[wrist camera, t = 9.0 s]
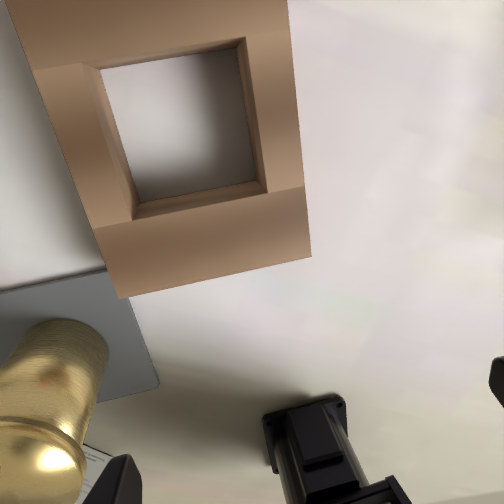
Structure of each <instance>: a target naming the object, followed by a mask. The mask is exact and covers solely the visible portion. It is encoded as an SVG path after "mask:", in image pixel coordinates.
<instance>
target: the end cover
mask: <svg viewBox="0 0 504 504" xmlns="http://www.w3.org/2000/svg"><path fill="white" fill-rule="evenodd" d="M108 361H109V348H108V345H107V343H106V341H105V340H104V338H103V337H102V336H101V335H100V334H99V333H98V332H97V331H96V330H95V329H93V328H92V327H90V326H88V325H86V324H83V323H81V322H77V321H73V320H67V319H54V320H48V321H44V322H41V323H39V324H37V325H35V326H33V327H31V328H30V329H29V330H28V331H27V332H26V333H25V334H24V335H23V337H22V338H21V339H20V341H19V342H18V344H17V345H16V347H15V348H14V350H13V351H12V352H11V354H10V355H9V357H8V358H7V360H6V361H5V362H4V364H3V365H2V367H1V368H0V504H74V503H75V502H76V501H77V499H78V497H79V495H80V492H81V488H82V484H83V481H84V477H85V474H86V470H87V462H86V457H85V454H84V452H83V450H82V449H81V447H82V444H83V441H84V438H85V435H86V431H87V428H88V425H89V422H90V419H91V415H92V412H93V409H94V406H95V403H96V399H97V396H98V393H99V390H100V387H101V383H102V380H103V377H104V374H105V371H106V367H107V364H108Z"/></svg>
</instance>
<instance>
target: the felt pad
mask: <svg viewBox="0 0 504 504" xmlns="http://www.w3.org/2000/svg"><path fill="white" fill-rule="evenodd" d="M54 319H67V320H73V321H77V322H81V323H83V324H86V325H88V326H90V327H92V328H93V329H95V330H96V331H97V332H98V333H99V334H100V335H101V336H102V337H103V338H104V340H105V341H106V343H107V345H108V348H109V361H108V364H107V367H106V371H105V374H104V377H103V380H102V383H101V387H100V390H99V393H98V396H97V399H96V403H99V402H103V401H107V400H111V399H115V398H119V397H123V396H127V395H131V394H135V393H139V392H143V391H148V390H152V389H156V388H159V384H160V383H159V380H158V378H157V375H156V372H155V369H154V367H153V364H152V361H151V359H150V356H149V353H148V350H147V348H146V345H145V342H144V339H143V337H142V334H141V331H140V329H139V326H138V323H137V320H136V318H135V315H134V312H133V309H132V307H131V304H130V301H129V299H128V298H123V299H118V296H117V294H116V291H115V288H114V286H113V283H112V281H111V278H110V275H109V273H108V270H107V269H104V270H99V271H95V272H90V273H85V274H81V275H76V276H71V277H67V278H62V279H57V280H53V281H48V282H43V283H39V284H34V285H29V286H25V287H20V288H15V289H11V290H6V291H1V292H0V368H1V367H2V365H3V364H4V362H5V361H6V360H7V358H8V357H9V355H10V354H11V352H12V351H13V350H14V348H15V347H16V345H17V344H18V342H19V341H20V339H21V338H22V337H23V335H24V334H25V333H26V332H27V331H28V330H29V329H30V328H31V327H33V326H35V325H37V324H39V323H41V322H44V321H48V320H54Z"/></svg>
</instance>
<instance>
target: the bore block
mask: <svg viewBox="0 0 504 504" xmlns="http://www.w3.org/2000/svg"><path fill="white" fill-rule="evenodd" d="M5 3H6V5H7V8H8V10H9V13H10V16H11V18H12V21H13V24H14V26H15V29H16V31H17V34H18V37H19V39H20V42H21V45H22V47H23V50H24V52H25V55H26V58H27V60H28V63H29V66H30V68H31V71H32V73H33V76H34V79H35V81H36V84H37V87H38V89H39V92H40V94H41V97H42V100H43V102H44V105H45V107H46V110H47V113H48V115H49V118H50V121H51V123H52V126H53V128H54V131H55V134H56V136H57V139H58V142H59V144H60V147H61V149H62V152H63V155H64V157H65V160H66V163H67V165H68V168H69V170H70V173H71V176H72V178H73V181H74V184H75V186H76V189H77V191H78V194H79V197H80V199H81V202H82V205H83V207H84V210H85V212H86V215H87V218H88V220H89V223H90V226H91V228H92V231H93V233H94V236H95V239H96V241H97V244H98V246H99V249H100V252H101V254H102V257H103V260H104V262H105V265H106V267H107V270H108V273H109V275H110V278H111V281H112V283H113V286H114V288H115V291H116V294H117V296H118V299H123V298H128V297H132V296H137V295H141V294H146V293H150V292H155V291H159V290H164V289H168V288H173V287H177V286H182V285H186V284H191V283H195V282H200V281H204V280H209V279H214V278H218V277H223V276H227V275H232V274H236V273H241V272H245V271H250V270H254V269H259V268H263V267H268V266H272V265H277V264H281V263H286V262H290V261H295V260H299V259H304V258H308V257H312V256H311V245H310V235H309V224H308V214H307V204H306V193H305V183H304V172H303V162H302V152H301V141H300V131H299V120H298V110H297V99H296V89H295V79H294V68H293V58H292V47H291V37H290V26H289V16H288V6H287V0H5ZM235 47H236V49H237V55H238V62H239V68H240V75H241V81H242V88H243V94H244V101H245V107H246V113H247V120H248V126H249V133H250V139H251V146H252V152H253V159H254V165H255V172H256V178H257V180H255V181H250V182H245V183H240V184H235V185H230V186H225V187H220V188H215V189H210V190H205V191H200V192H195V193H190V194H185V195H180V196H175V197H170V198H165V199H160V200H155V201H150V202H145V203H140V201H139V197H138V194H137V191H136V188H135V184H134V181H133V178H132V175H131V171H130V168H129V165H128V162H127V158H126V155H125V152H124V149H123V145H122V142H121V139H120V136H119V132H118V129H117V126H116V123H115V119H114V116H113V113H112V110H111V106H110V103H109V100H108V96H107V93H106V90H105V87H104V83H103V80H102V77H101V74H100V70H101V69H107V68H113V67H119V66H125V65H131V64H137V63H143V62H149V61H155V60H161V59H168V58H174V57H180V56H186V55H192V54H198V53H204V52H210V51H216V50H222V49H228V48H235Z"/></svg>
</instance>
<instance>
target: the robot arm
mask: <svg viewBox="0 0 504 504" xmlns="http://www.w3.org/2000/svg"><path fill="white" fill-rule="evenodd" d="M489 386H490V389H491V391H492V393H493V394H494V395H495V397H496V398H497V400H498V401H499V402H500V404H501V405H502V406H503V408H504V356H501V357H497V358H494V360H493V361H492V365H491V370H490V376H489ZM262 423H263V428H264V433H265V437H266V442H267V447H268V452H269V456H270V461H271V466H272V470H273V473H274V474H279V475H280V479H281V483H282V487H283V491H284V495H285V499H286V504H412V503H411V501H410V500H409V498H408V497H407V495H406V494H405V492H404V491H403V489H402V488H401V486H400V485H399V483H398V481H397V480H396V478H395V477H394V476H393V475H391V476H388V477H385V480H382V481H379V482H377V483H374V484H371V485H369V482H368V480H367V478H366V476H365V474H364V472H363V470H362V468H361V465H360V463H359V461H358V459H357V457H356V455H355V453H354V451H353V448H352V446H351V444H350V442H349V440H348V433H347V417H346V403H345V401H344V399H343V398H342V397H340V396H337V397H333V398H330V399H326V400H322V401H318V402H314V403H310V404H306V405H303V406H299V407H295V408H291V409H287V410H283V411H279V412H276V413H272V414H268V415H265V416H264V417H263V418H262ZM82 504H142V479H141V475H140V473H139V471H138V469H137V467H136V464H135V462H134V460H133V458H132V456H131V455H130V454H125V455H121V456H117V457H114V458H112V459H111V460H110V461H109V462H108V463H107V465H106V466H105V468H104V470H103V471H102V473H101V474H100V476H99V478H98V479H97V481H96V482H95V484H94V485H93V487H92V489H91V490H90V492H89V493H88V495H87V496H86V498H85V500H84V501H83V503H82Z"/></svg>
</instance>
